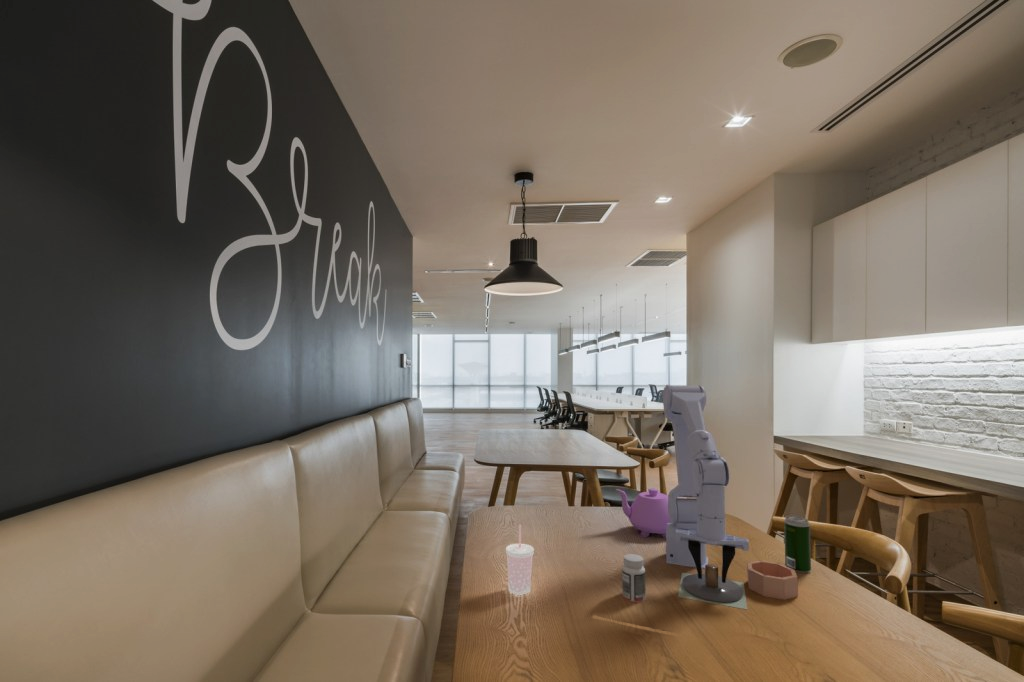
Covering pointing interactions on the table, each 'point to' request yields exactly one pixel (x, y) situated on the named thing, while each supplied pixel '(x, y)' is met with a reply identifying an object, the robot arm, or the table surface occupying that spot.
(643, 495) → the teapot
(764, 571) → the bowl
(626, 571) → the pill bottle
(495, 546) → the table surface
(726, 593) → the lid
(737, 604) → the mat
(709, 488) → the robot arm
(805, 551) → the beer can
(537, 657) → the table surface
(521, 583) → the beverage cup
